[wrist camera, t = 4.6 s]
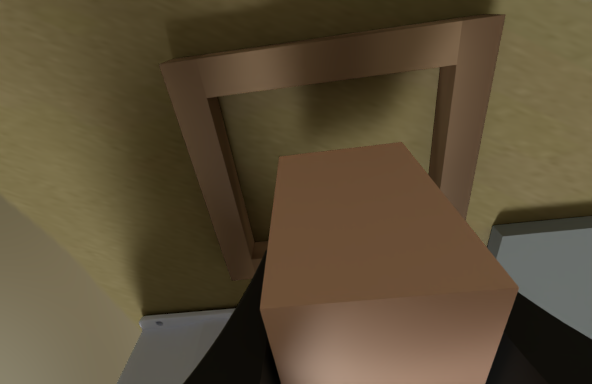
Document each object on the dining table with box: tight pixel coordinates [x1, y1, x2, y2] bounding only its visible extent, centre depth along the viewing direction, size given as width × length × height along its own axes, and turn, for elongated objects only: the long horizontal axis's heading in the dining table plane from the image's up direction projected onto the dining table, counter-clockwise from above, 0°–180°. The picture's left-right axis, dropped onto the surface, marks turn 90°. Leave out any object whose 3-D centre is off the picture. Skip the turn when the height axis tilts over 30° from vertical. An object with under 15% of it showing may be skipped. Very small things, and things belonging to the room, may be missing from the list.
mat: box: [487, 216, 592, 339], centre depth 20 cm, size 12×12×1 cm
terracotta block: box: [260, 142, 519, 384], centre depth 9 cm, size 4×6×6 cm, turn 7°
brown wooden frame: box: [159, 14, 505, 281], centre depth 15 cm, size 13×12×2 cm
